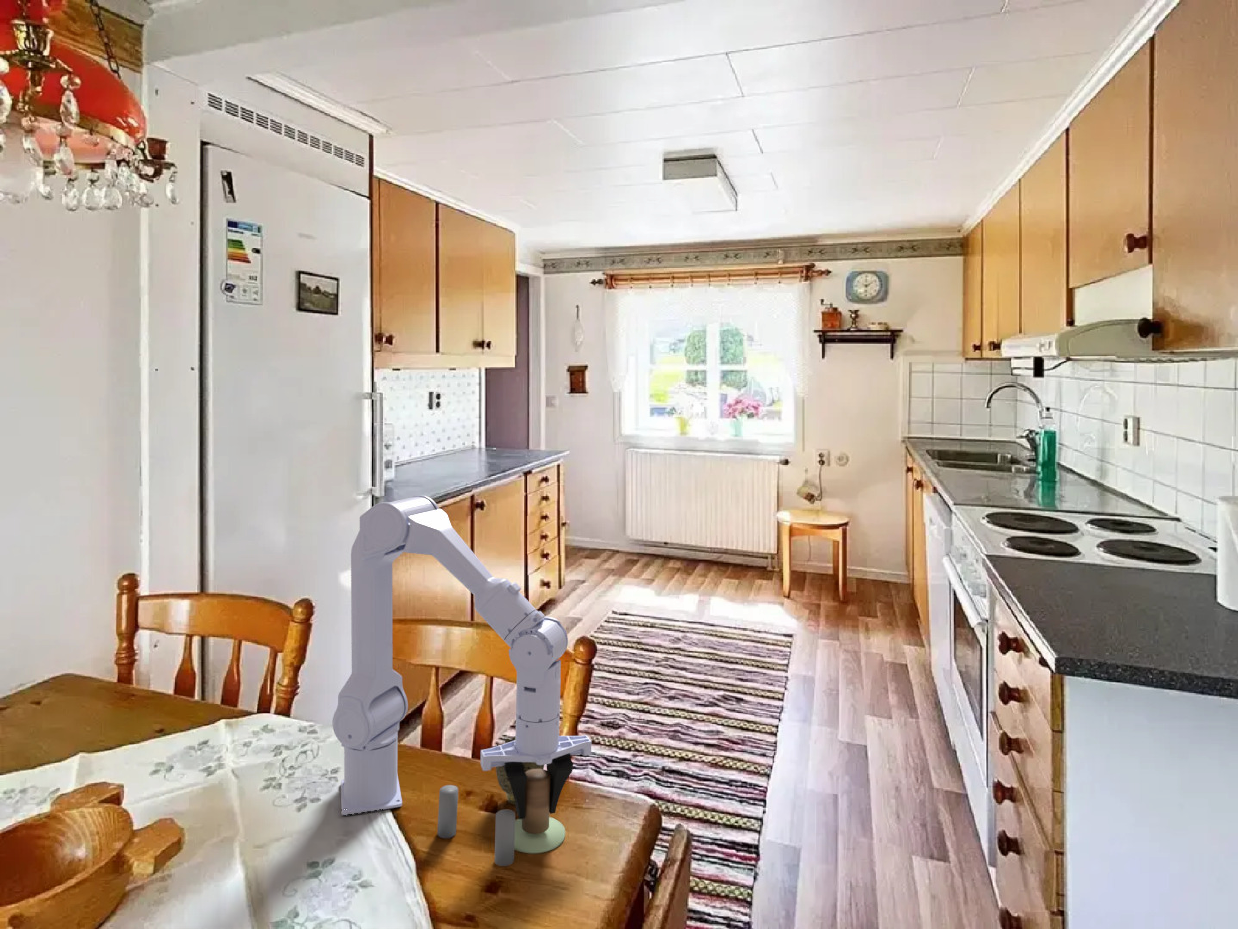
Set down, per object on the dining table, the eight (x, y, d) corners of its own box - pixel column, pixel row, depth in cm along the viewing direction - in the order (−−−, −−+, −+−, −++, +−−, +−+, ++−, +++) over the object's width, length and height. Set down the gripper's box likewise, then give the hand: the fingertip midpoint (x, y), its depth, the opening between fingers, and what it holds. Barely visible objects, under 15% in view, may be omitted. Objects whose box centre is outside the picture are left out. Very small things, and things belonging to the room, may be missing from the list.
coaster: (499, 824, 101) (499, 821, 101) (555, 814, 104) (555, 811, 104) (512, 858, 94) (512, 855, 94) (572, 846, 97) (572, 843, 97)
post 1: (435, 830, 99) (437, 787, 99) (453, 826, 100) (455, 784, 100) (439, 840, 97) (441, 796, 97) (457, 836, 98) (460, 793, 98)
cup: (520, 781, 112) (521, 730, 112) (555, 799, 108) (557, 746, 107) (482, 801, 107) (483, 747, 106) (517, 821, 102) (518, 765, 101)
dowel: (519, 821, 100) (520, 771, 99) (544, 816, 101) (546, 767, 100) (525, 836, 96) (526, 784, 96) (552, 831, 98) (553, 780, 97)
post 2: (492, 856, 94) (493, 811, 94) (511, 853, 95) (512, 808, 94) (496, 867, 92) (498, 821, 91) (515, 864, 93) (517, 818, 92)
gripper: (488, 733, 91) (486, 839, 92) (600, 719, 96) (597, 819, 98) (478, 710, 98) (476, 809, 99) (583, 698, 103) (580, 791, 104)
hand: (535, 812), depth 99 cm, fingers closed on dowel, 3 cm apart
